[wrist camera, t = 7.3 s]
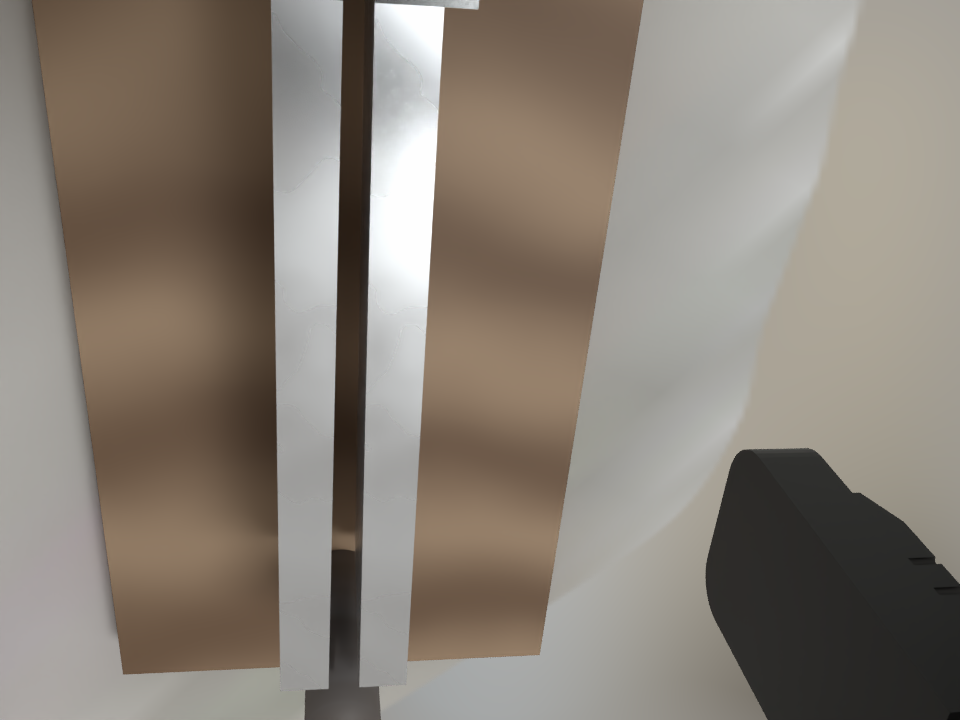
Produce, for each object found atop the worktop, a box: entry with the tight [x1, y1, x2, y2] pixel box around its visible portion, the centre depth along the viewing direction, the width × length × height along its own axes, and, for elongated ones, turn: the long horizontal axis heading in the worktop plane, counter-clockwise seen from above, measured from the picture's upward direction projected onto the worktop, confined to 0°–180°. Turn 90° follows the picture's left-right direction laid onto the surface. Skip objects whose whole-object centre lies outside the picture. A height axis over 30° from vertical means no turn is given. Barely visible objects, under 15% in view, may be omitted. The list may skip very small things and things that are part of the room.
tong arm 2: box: [271, 0, 343, 691], centre depth 21 cm, size 20×2×5 cm, turn 175°
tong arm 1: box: [355, 0, 479, 687], centre depth 21 cm, size 20×2×5 cm, turn 176°
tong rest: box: [32, 0, 644, 720], centre depth 22 cm, size 30×14×8 cm, turn 175°
